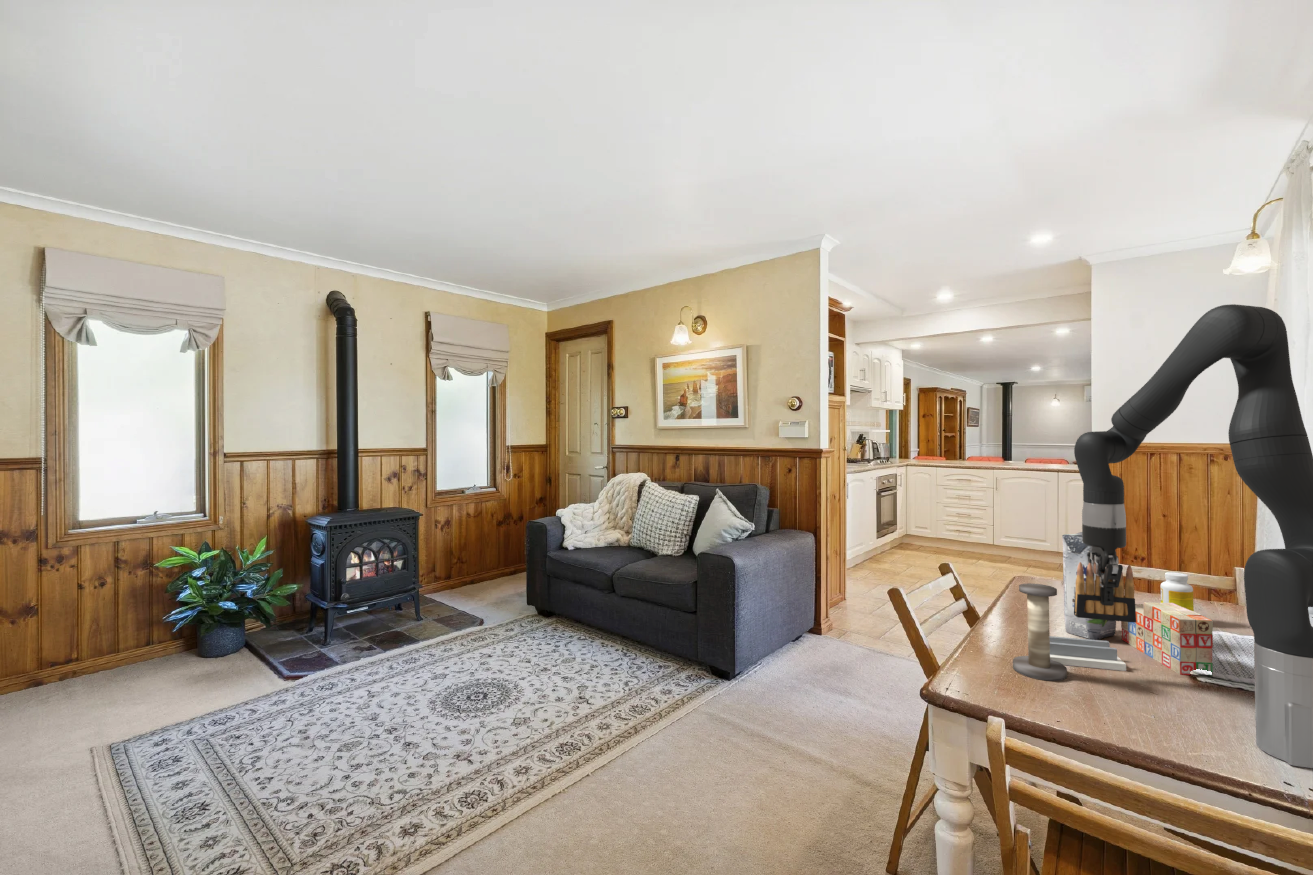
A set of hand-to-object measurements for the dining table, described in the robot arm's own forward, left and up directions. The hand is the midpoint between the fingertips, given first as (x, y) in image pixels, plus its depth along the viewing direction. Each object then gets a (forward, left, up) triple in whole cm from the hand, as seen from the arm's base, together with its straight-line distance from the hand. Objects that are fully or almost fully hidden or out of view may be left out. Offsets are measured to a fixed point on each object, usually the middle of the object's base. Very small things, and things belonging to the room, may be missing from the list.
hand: (1104, 602), depth 126 cm
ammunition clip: (0, 0, -4) cm, 4 cm away
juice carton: (+27, -5, -16) cm, 32 cm away
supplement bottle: (+45, -30, -16) cm, 57 cm away
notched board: (+7, +3, -15) cm, 17 cm away
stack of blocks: (+15, -16, -16) cm, 27 cm away
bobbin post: (-3, +13, -15) cm, 20 cm away
